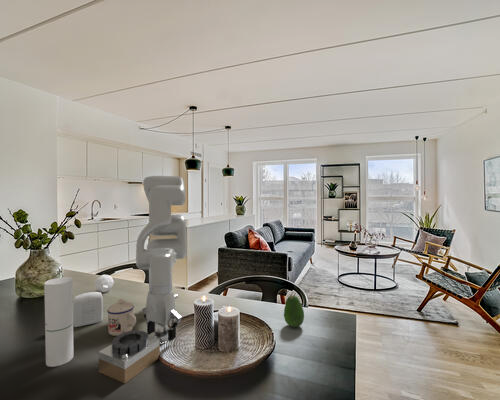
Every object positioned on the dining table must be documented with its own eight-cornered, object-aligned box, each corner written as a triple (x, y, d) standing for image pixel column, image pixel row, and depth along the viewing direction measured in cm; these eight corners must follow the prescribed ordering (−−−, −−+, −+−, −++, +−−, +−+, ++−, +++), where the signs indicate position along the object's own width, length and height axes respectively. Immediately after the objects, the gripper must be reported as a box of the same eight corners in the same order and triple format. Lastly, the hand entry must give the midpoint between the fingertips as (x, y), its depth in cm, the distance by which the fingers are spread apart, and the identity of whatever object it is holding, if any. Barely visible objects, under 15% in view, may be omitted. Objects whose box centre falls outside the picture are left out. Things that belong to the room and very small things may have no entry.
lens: (161, 336, 99) (161, 317, 99) (171, 339, 97) (170, 319, 97) (151, 342, 95) (151, 322, 95) (161, 346, 93) (161, 325, 93)
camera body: (135, 348, 91) (134, 325, 91) (159, 357, 86) (159, 333, 86) (98, 371, 79) (98, 345, 79) (124, 383, 75) (124, 355, 74)
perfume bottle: (91, 286, 145) (92, 296, 135) (97, 270, 146) (99, 279, 136) (109, 288, 150) (111, 298, 140) (114, 272, 150) (117, 281, 140)
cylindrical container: (69, 350, 90) (67, 275, 90) (77, 358, 86) (75, 280, 85) (42, 360, 85) (41, 281, 84) (49, 369, 80) (48, 286, 80)
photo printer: (102, 317, 114) (102, 288, 113) (103, 322, 110) (103, 291, 110) (73, 324, 108) (72, 293, 108) (73, 329, 104) (72, 297, 104)
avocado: (285, 320, 112) (285, 291, 111) (305, 323, 109) (305, 293, 109) (282, 329, 104) (282, 299, 104) (302, 333, 102) (302, 301, 101)
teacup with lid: (102, 333, 101) (101, 302, 101) (122, 322, 109) (122, 294, 109) (125, 340, 96) (124, 308, 96) (144, 328, 104) (144, 299, 104)
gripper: (134, 287, 96) (135, 335, 96) (172, 295, 88) (172, 347, 89) (151, 281, 102) (151, 326, 103) (187, 288, 95) (187, 336, 95)
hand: (161, 336), depth 96 cm, fingers open, 9 cm apart
